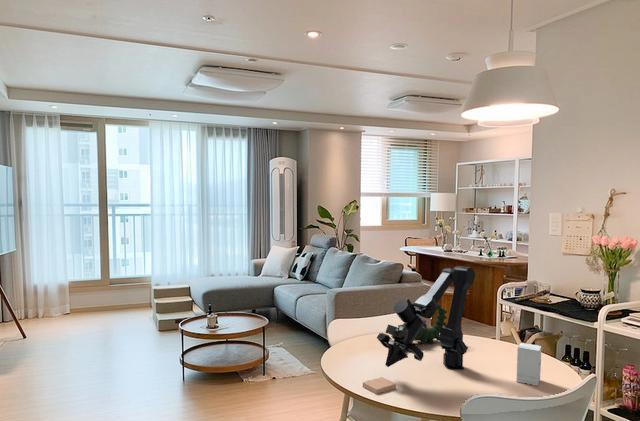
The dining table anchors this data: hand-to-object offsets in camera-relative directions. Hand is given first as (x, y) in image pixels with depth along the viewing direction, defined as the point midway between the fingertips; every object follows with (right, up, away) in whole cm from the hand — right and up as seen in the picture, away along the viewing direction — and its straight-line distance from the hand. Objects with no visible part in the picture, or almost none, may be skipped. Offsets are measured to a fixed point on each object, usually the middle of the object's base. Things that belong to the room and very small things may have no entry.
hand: (386, 366), depth 159 cm
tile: (+1, -6, +1) cm, 6 cm away
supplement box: (+53, -8, +7) cm, 54 cm away
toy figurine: (+23, -7, +50) cm, 56 cm away
